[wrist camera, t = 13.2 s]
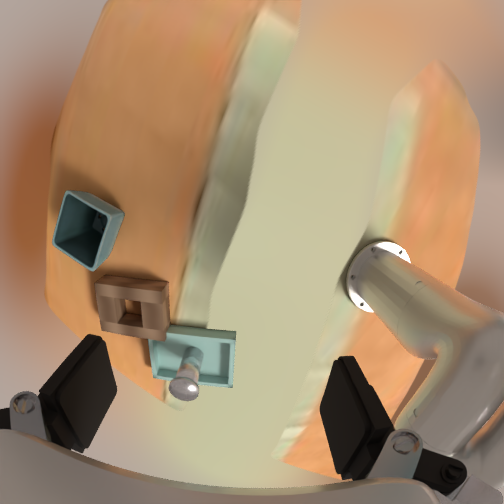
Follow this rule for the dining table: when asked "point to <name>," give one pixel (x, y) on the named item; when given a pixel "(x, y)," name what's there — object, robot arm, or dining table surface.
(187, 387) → the pin
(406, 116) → the dining table surface
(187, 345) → the tray
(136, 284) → the socket block
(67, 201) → the flower pot
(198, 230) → the dining table surface
